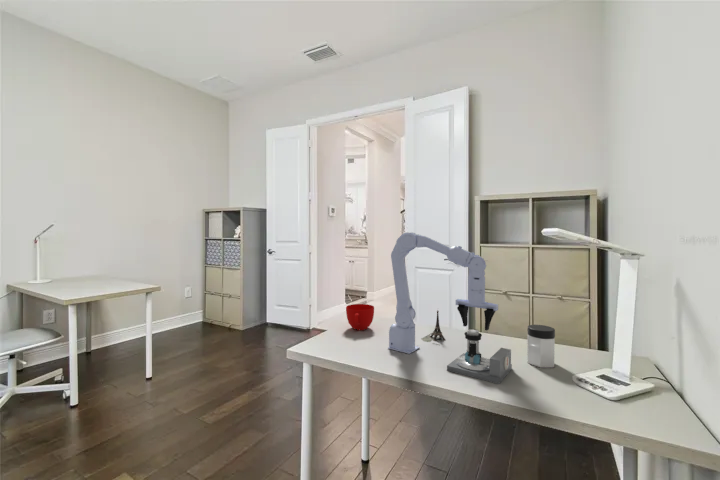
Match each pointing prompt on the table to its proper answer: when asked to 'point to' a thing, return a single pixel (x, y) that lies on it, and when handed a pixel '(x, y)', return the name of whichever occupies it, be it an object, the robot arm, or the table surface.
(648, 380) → the table surface
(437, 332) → the eiffel tower figurine
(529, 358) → the jar
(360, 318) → the ceramic cup
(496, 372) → the postal scale
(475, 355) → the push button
